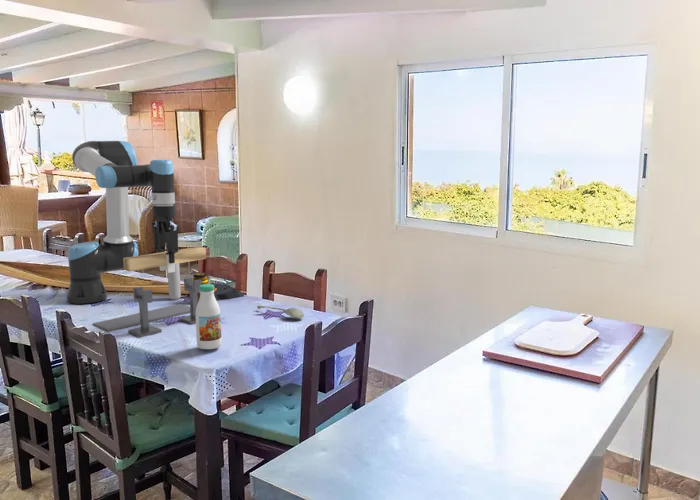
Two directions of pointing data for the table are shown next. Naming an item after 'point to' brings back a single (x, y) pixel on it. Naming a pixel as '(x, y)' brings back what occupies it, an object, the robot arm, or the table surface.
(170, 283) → the tube
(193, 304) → the standards
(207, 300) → the milk bottle
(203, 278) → the condiment
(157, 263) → the hang bar
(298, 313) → the soupspoon
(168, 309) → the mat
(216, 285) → the dark slate chunk
